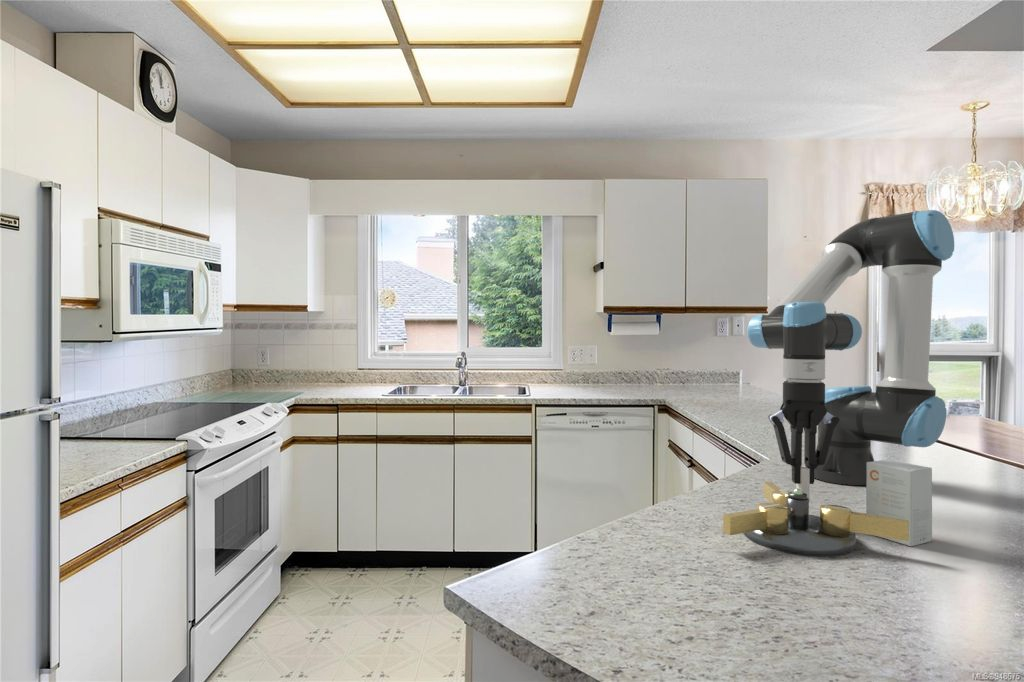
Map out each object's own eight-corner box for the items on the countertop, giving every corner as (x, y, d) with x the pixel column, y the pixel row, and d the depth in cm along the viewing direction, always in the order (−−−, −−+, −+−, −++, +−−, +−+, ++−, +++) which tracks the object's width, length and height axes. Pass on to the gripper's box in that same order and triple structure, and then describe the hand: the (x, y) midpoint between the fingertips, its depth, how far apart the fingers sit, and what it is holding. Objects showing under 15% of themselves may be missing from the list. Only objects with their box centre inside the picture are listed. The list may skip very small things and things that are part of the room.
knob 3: (817, 532, 103) (817, 507, 103) (822, 525, 107) (822, 501, 107) (907, 548, 96) (908, 521, 96) (909, 540, 100) (909, 514, 100)
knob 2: (803, 519, 111) (803, 496, 111) (776, 518, 111) (776, 495, 111) (779, 500, 124) (779, 479, 123) (755, 499, 124) (755, 478, 124)
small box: (932, 541, 105) (933, 467, 105) (910, 547, 103) (911, 471, 102) (886, 528, 113) (887, 458, 112) (864, 533, 110) (865, 461, 110)
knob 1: (771, 523, 108) (771, 500, 108) (794, 531, 104) (794, 507, 104) (716, 533, 103) (716, 508, 103) (737, 542, 98) (737, 516, 98)
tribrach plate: (731, 520, 117) (732, 475, 117) (828, 523, 115) (829, 477, 115) (760, 554, 99) (761, 501, 99) (876, 558, 98) (876, 504, 97)
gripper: (775, 381, 116) (774, 504, 116) (847, 382, 115) (846, 506, 115) (763, 378, 123) (762, 494, 124) (830, 379, 122) (829, 495, 122)
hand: (802, 499), depth 119 cm, fingers closed
